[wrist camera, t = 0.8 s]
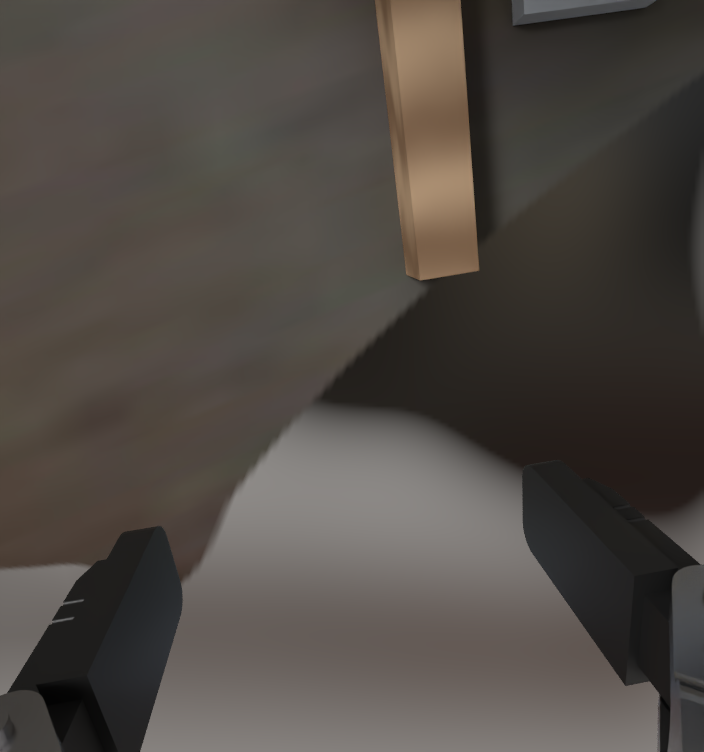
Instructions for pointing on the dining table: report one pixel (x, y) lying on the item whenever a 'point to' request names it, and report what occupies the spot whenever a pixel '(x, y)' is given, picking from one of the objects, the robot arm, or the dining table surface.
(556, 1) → the ridge block
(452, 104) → the walnut bar
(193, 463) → the dining table surface
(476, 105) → the dining table surface
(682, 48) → the dining table surface
